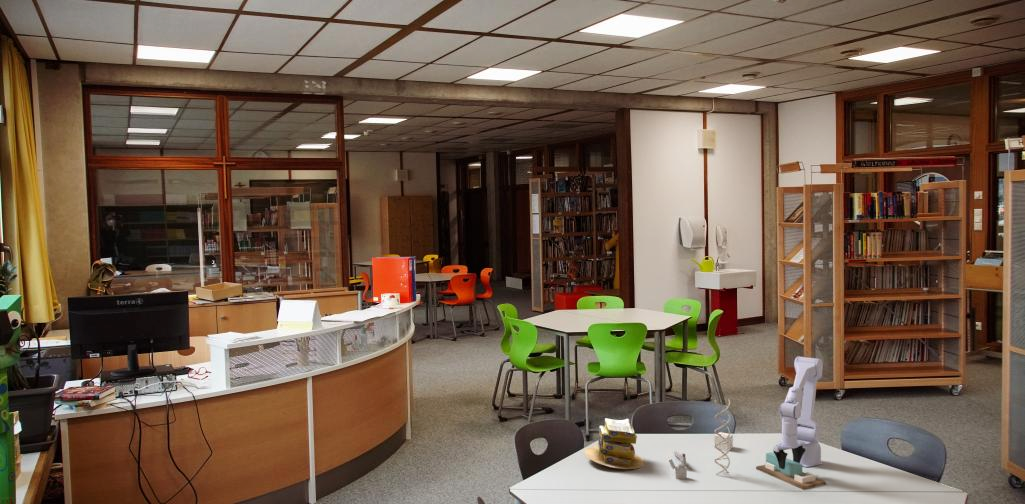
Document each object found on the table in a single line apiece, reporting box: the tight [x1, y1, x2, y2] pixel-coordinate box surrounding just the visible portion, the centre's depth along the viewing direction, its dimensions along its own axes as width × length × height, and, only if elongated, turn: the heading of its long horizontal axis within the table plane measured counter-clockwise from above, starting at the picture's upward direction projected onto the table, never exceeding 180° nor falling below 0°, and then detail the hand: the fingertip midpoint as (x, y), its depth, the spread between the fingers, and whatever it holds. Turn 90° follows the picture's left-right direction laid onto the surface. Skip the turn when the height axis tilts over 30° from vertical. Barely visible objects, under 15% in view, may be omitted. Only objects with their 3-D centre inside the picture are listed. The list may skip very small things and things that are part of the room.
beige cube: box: [713, 431, 734, 452], centre depth 312 cm, size 6×6×6 cm
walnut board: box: [755, 464, 827, 490], centre depth 278 cm, size 12×24×1 cm, turn 25°
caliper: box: [673, 450, 687, 468], centre depth 296 cm, size 20×1×6 cm, turn 178°
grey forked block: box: [667, 457, 688, 480], centre depth 277 cm, size 7×2×8 cm, turn 87°
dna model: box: [714, 398, 731, 475], centre depth 281 cm, size 7×6×30 cm
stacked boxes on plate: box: [584, 417, 644, 470], centre depth 296 cm, size 25×25×17 cm
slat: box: [765, 451, 803, 477], centre depth 281 cm, size 3×16×5 cm, turn 25°
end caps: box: [764, 461, 817, 483], centre depth 278 cm, size 7×19×2 cm, turn 25°
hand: (789, 466), depth 278 cm, fingers open, 7 cm apart
